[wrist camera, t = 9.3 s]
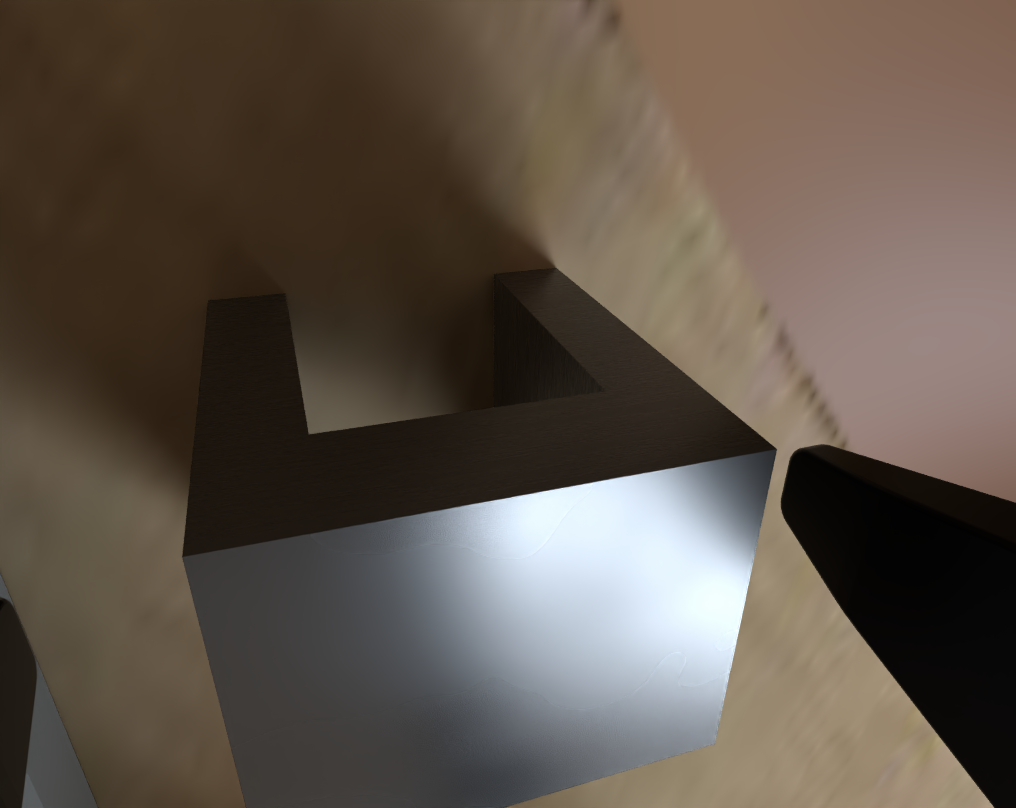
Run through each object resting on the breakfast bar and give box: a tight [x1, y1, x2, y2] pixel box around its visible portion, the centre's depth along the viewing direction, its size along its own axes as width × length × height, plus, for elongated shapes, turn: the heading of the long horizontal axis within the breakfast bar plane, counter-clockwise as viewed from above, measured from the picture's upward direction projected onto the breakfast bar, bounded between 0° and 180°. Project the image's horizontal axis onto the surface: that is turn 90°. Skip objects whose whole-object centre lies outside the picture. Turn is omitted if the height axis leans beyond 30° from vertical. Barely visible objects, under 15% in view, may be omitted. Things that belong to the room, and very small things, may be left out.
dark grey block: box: [182, 268, 777, 808], centre depth 9 cm, size 5×4×6 cm
